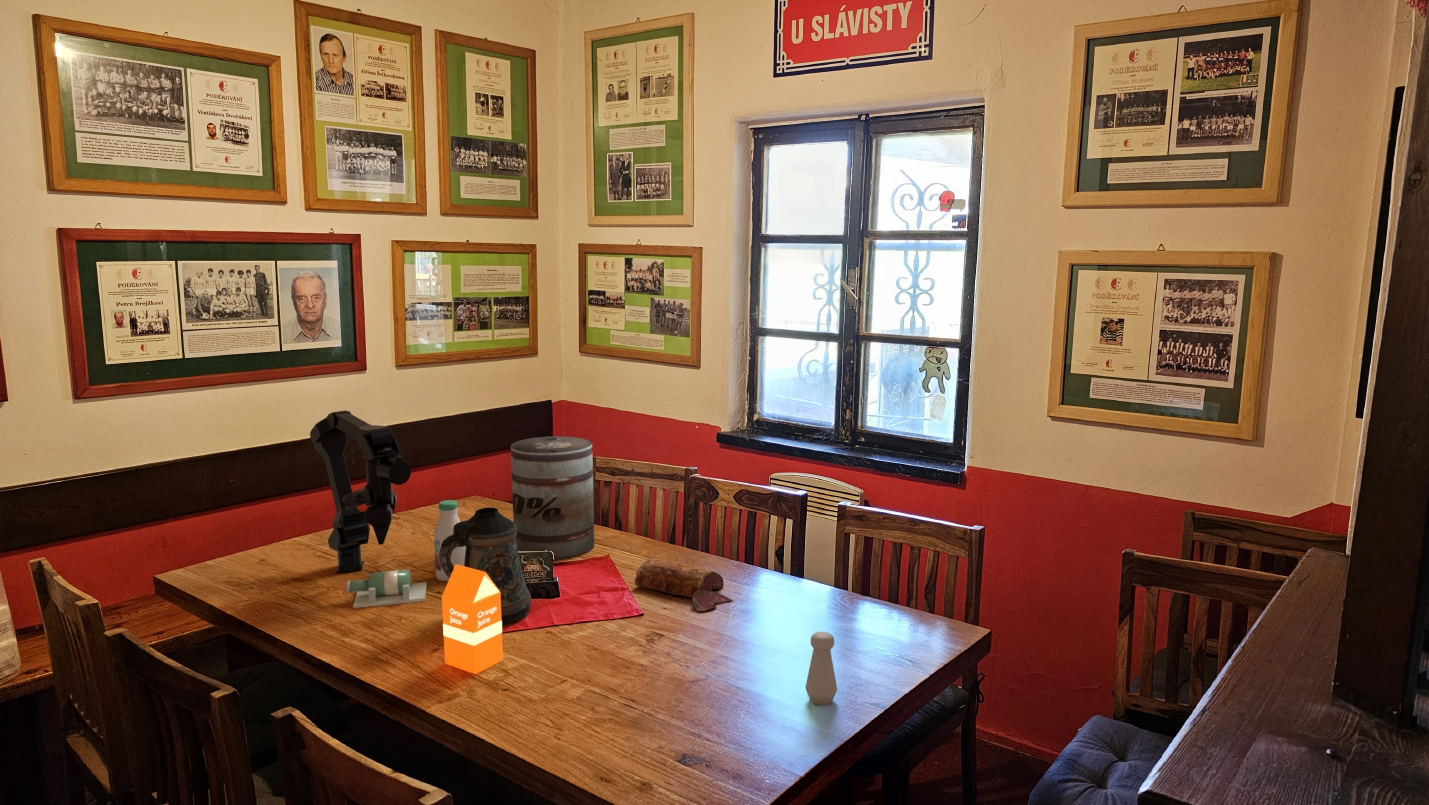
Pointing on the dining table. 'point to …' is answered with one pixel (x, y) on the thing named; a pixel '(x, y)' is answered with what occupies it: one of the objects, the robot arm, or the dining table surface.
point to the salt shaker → (821, 670)
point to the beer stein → (491, 558)
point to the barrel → (553, 495)
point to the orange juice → (471, 620)
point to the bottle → (382, 583)
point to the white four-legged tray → (391, 596)
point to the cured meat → (682, 581)
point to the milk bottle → (443, 531)
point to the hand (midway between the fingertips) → (382, 538)
